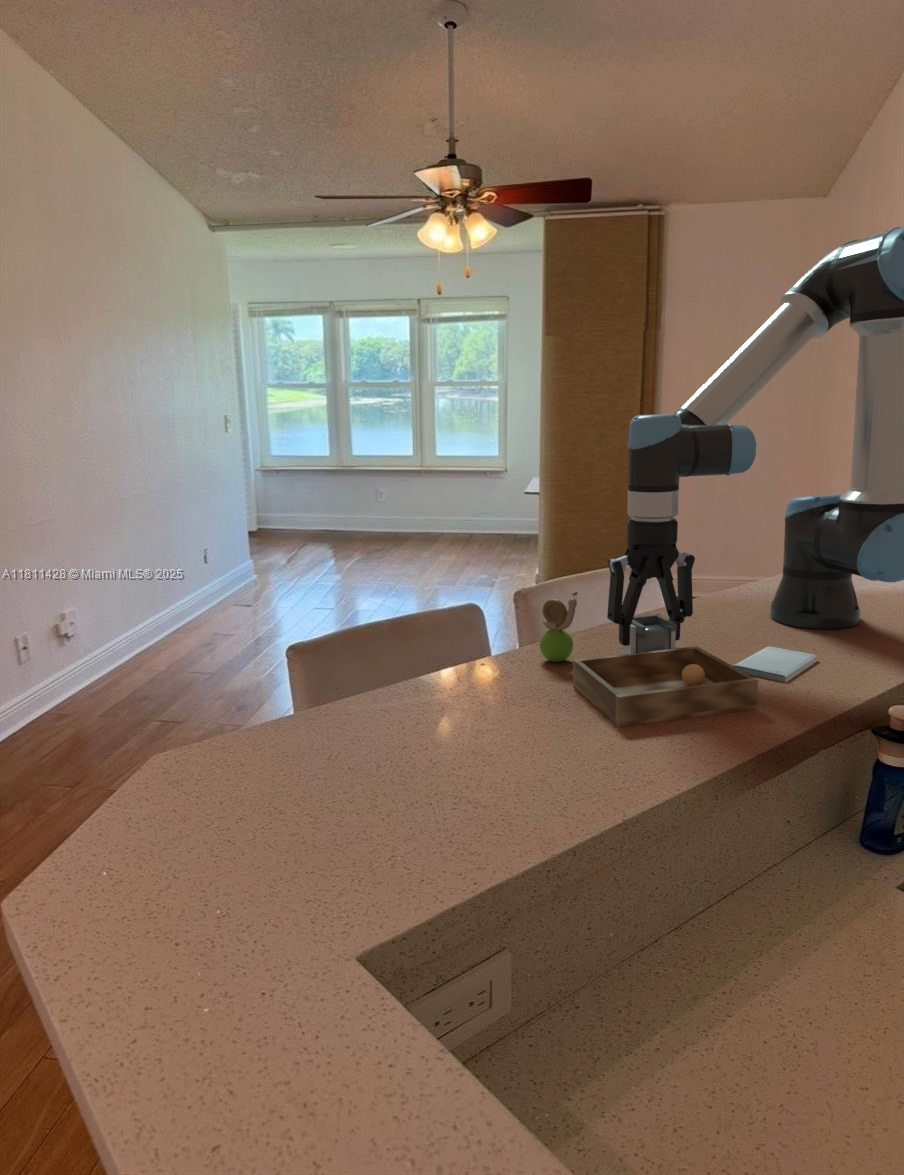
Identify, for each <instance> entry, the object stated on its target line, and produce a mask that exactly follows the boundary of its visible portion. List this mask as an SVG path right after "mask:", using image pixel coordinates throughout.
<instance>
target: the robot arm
mask: <svg viewBox="0 0 904 1175" xmlns="http://www.w3.org/2000/svg"><path fill="white" fill-rule="evenodd" d="M778 306H779V307H778V308H777V309H776V310H775V311H774V313H772V314H771V315H770V316H769V318H768V319H767V320H765V321H764V322H763V324H762V325H761V326H760V327H758V329H756V331H755V332H754V333H753V334H752V335H750V337H749V338H748V339H747V340H746V341H744V343H743V344H742V345H741V346H740V347H739V348H738V349H737V350H736V351H735V352H734V353H733V354H732V355H731V356H730V357H729V358H728V359H727V360H726V361H725V362H724V363H723V364H722V365H721V366H720V367H719V368H718V369H717V370H716V371H714V373H713V374H712V375H710V377H709V378H708V379H707V380H706V381H705V382H704V383H703V384H702V385H701V386H700V387H699V388H698V390H697V391H696V392H694V393H693V394H692V396H690V397H689V398H688V399H687V400H686V401H685V402H684V404H683V405H681V407H679V409H677V411H675V412H674V413H673V414H671V413H668V414H667V413H666V414H639V415H635V416H634V417H632V419H631V420H630V423H629V429H628V438H627V441H628V442H627V446H626V447H627V451H628V453H627V456H628V457H627V458H628V462H627V464H628V465H627V466H628V468H627V474H628V475H627V477H628V479H627V482H628V483H627V511H626V512H627V515H628V516H629V517H630V518H629V519H628V520H627V521H626V543H627V546H626V550H625V552H624V555H623V556H621V557H618V558H616V559H615V558H609V559H608V560H607V565H608V569H609V572H610V574H609V575H610V578H609V588H608V589H609V590H608V601H607V616H606V617H607V620H609V621H610V622H612V623H614V624H616V625H617V624H618V643H619V644H620V645H621V646H623V654H631V653H636V626H634V625H632V624H631V623H632V620H633V617H634V616H635V613H636V610H637V608H638V604H639V601H640V598H641V595H642V590H643V589H644V586H645V585H646V584H647V580H650V579H653V578H656V580H657V582H658V585H659V588H660V592H661V595H662V596H661V597H662V599H663V602H664V605H665V609H666V613H667V616H668V619H669V620H671V621H673V622H675V623H677V631H670V630H669V649H676V641H680V638H681V624H682V623H684V622H685V620H686V619H685V618H687V617H691V616H692V615H693V613H694V611H693V610H694V608H693V607H694V606H693V605H694V602H693V572H692V570H693V567H694V563H695V560H696V558H695V555H693V554H690V553H687V552H680V551H679V549H678V547H677V542H678V530H679V529H678V528H679V527H678V526H679V522H678V520H677V519H676V518H675V517H677V516H678V515H679V494H680V492H679V491H680V478H686V477H687V478H688V477H703V476H704V477H705V476H724V475H725V476H730V475H735V474H742V473H745V472H747V471H748V470H749V469H750V468H751V467H752V466H753V465H754V462H755V459H756V457H757V456H756V455H757V451H756V450H757V440H756V437H755V434H754V432H753V430H751V428H750V427H748V426H746V425H744V424H731V423H729V422H730V421H731V420H732V419H733V418H734V417H735V416H736V415H737V414H738V413H739V412H740V411H741V410H742V409H743V408H744V407H745V406H746V405H747V404H748V403H749V402H750V401H751V400H752V399H754V397H755V396H756V395H757V394H758V393H759V392H760V391H761V390H762V389H763V388H764V387H765V386H766V385H767V384H769V382H770V381H771V380H772V379H773V378H774V377H775V376H776V375H777V374H778V373H779V372H780V371H781V370H782V369H783V368H784V367H785V366H786V365H787V364H788V363H789V362H790V361H791V360H792V359H793V358H794V357H795V356H796V355H797V354H798V353H799V352H800V351H801V350H802V348H804V347H805V346H806V345H807V344H808V343H809V342H810V341H812V339H819V338H821V337H823V336H825V334H827V333H828V331H830V329H832V328H833V327H834V326H835V325H837V324H839V323H841V322H842V321H845V320H847V319H849V327H850V328H851V329H852V330H853V331H854V332H855V333H856V334H857V335H858V336H859V340H858V341H859V342H858V356H857V374H856V388H855V404H854V405H855V407H854V420H853V421H854V424H853V438H852V439H853V440H852V457H851V471H850V472H851V473H850V486H849V487H848V489H847V490H846V491H844V493H842V494H841V493H840V494H826V495H824V494H823V495H809V496H797V497H793V498H792V499H790V500H789V501H788V502H787V504H786V505H787V506H786V511H785V516H784V522H785V523H784V541H783V542H784V543H783V561H782V562H783V563H782V575H781V579H780V582H779V584H778V586H777V589H776V592H775V594H774V597H773V600H772V601H771V603H770V614H769V615H770V618H771V619H772V620H774V621H775V622H778V623H781V624H784V625H788V626H794V627H799V628H805V629H815V630H816V629H820V630H837V629H846V628H851V627H854V626H856V625H858V624H859V623H860V617H861V608H860V606H859V602H858V598H857V594H856V590H855V587H854V586H855V585H854V583H853V575H855V576H857V577H862V578H863V579H865V580H869V581H874V582H875V581H879V582H884V583H898V582H902V581H904V225H903V226H898V227H893V228H891V229H889V230H886V231H882V232H879V233H876V234H873V235H869V236H866V237H864V238H859V239H855V240H851V241H848V242H845V243H843V244H841V245H839V246H837V247H835V248H833V249H832V250H831V251H829V252H828V253H827V254H825V255H824V256H823V257H822V258H820V259H819V260H818V261H817V262H816V263H815V264H813V266H811V267H810V268H809V269H808V270H807V271H806V272H804V274H802V276H801V277H800V278H798V280H796V282H795V283H793V284H792V286H791V287H790V288H788V290H787V291H786V292H785V293H783V294H782V295H781V297H780V298H779V302H778ZM675 563H676V565H677V569H676V574H677V575H676V578H677V580H676V581H677V593H676V589H675V585H674V582H673V581H674V577H673V574H672V570H671V568H672V567H673V566H674V564H675ZM627 565H628V566H629V568H630V569H631V571H630V574H629V577H628V579H629V582H628V586H627V588H626V592H625V595H624V588H625V587H624V586H625V585H624V583H625V573H624V572H626V571H627V567H626V566H627Z"/></svg>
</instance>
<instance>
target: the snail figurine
mask: <svg viewBox="0 0 904 1175" xmlns="http://www.w3.org/2000/svg"><path fill="white" fill-rule="evenodd" d="M571 594H572V596H573V597H576V596H577V595H578V592H577V591H573V592H572V593H571ZM577 602H578V601H577V598H570V599H568V602H567V604H568V609H567V606H566V605H565V604H564V603H563V602H562V601H561V600H559V599H557V598H551V599H550V598H549V599H547V601H545V603H543V606H542V615H543V618H544V619H545V620H543V621H542V624H543V625H544V626H545V627H546V628H547V629H548V630H547V631H545V633H543V635H542V636H541V638H540V640H539V650H540V652H541V654H542V656H543V657H544V658H545V659H546V660H547V661H550V662H553V663H559V662H563V661H565V660H566V659H568V658H569V657H570V656H571V655H572V653H573V650H574V640H573V638H572V636H571V635H570V633H569V632H567V631H566V630H567V629H568V628H570V626H571V624H572V623H573V621H574V618H575V614H576V608H577V607H576V606H577Z"/></svg>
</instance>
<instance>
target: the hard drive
mask: <svg viewBox="0 0 904 1175" xmlns="http://www.w3.org/2000/svg"><path fill="white" fill-rule="evenodd" d="M818 658H819V656H818V655H816V654H814V653H809V652H803V651H797V650H791V649H787V648H781V647H776V646H775V647H774V646H766V647H764V648H762V649H761V650H759V651H757V652H755V653H753V654H752V655H750V656H748V657H746V658H744V659H742V660H741V661H740V662H739V661H738V663H735V664H733V665H732V666H733V667H735V668H737V669H739V670H741V671H742V672H744V673H746V674H748V675H750V676H752V677H758V678H762V679H768V680H772V681H776V682H777V681H778V682H781V683H787V682H789V681H790V680H792V679H794V678H795V677H796V676H798V675H799V674H801V673H802V672H804V671H805V670H806V669H808V668H810V667H811V666H813V665H814V664H816V663H817V662H818V660H819V659H818Z"/></svg>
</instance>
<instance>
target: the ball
mask: <svg viewBox="0 0 904 1175" xmlns="http://www.w3.org/2000/svg"><path fill="white" fill-rule="evenodd" d="M682 679H683V681H684V682H685V683H686V684H687V685H689V686H694V685H700V684H701V683H702V682H703V681H704V679H705V672H704V670H703V669H702V668H701V667H700V666H699V665H696V664H690V665H687V666H686V667H685V668H684V669H683V671H682Z"/></svg>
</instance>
